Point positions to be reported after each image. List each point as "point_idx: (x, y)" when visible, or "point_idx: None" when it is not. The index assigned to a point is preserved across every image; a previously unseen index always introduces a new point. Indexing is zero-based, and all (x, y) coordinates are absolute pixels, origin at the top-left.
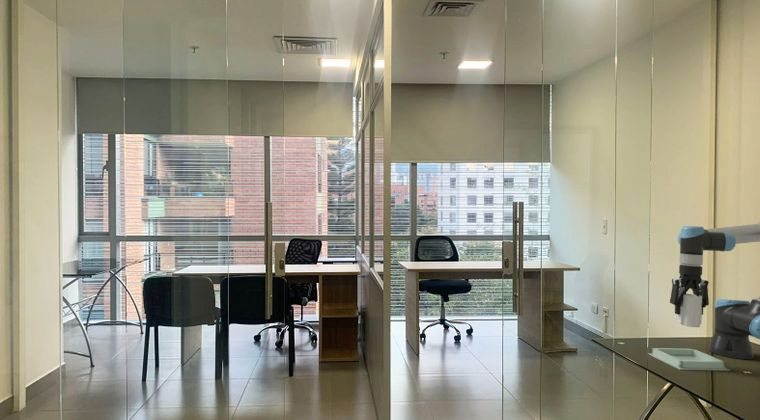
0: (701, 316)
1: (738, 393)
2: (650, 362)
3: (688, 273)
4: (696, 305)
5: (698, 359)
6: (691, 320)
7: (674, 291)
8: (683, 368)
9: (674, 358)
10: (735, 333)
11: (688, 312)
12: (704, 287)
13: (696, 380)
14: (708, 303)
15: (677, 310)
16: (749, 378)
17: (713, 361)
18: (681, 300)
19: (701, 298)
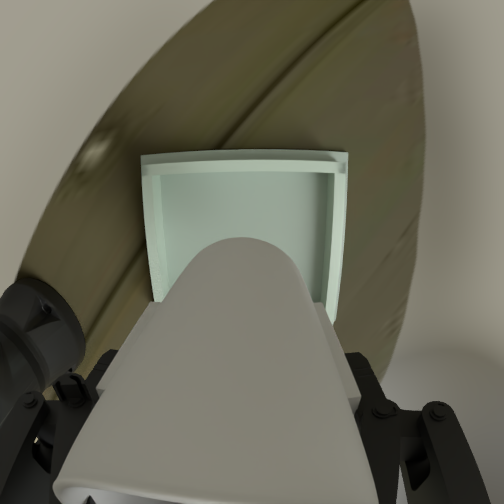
0: (130, 333)
1: None
2: (395, 231)
3: None
4: (238, 344)
5: (180, 264)
6: (282, 264)
7: None
8: (331, 154)
9: (344, 197)
10: (3, 332)
11: (313, 318)
12: None
13: (360, 57)
14: (18, 402)
15: (372, 375)
16: (138, 83)
17: (190, 166)
18: (381, 460)
19: (87, 448)
